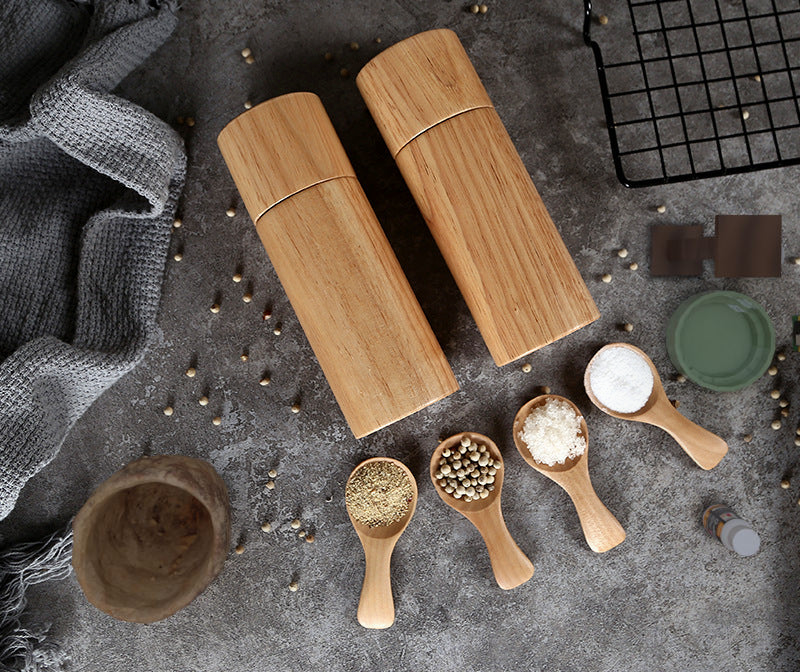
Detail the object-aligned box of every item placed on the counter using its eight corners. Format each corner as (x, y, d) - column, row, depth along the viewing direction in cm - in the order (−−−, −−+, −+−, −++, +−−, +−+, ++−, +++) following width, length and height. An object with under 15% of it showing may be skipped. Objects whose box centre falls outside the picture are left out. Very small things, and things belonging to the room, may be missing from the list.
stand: (699, 225, 116) (782, 214, 91) (699, 275, 116) (781, 277, 91) (650, 225, 116) (719, 214, 91) (650, 275, 116) (718, 277, 91)
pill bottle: (697, 509, 117) (724, 532, 107) (726, 499, 117) (757, 520, 107) (707, 538, 117) (735, 564, 107) (736, 528, 117) (768, 552, 107)
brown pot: (261, 547, 117) (223, 624, 92) (139, 554, 117) (68, 632, 92) (254, 425, 117) (214, 468, 92) (132, 431, 117) (59, 476, 92)
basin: (761, 290, 116) (776, 291, 112) (760, 386, 117) (775, 391, 112) (664, 290, 116) (675, 290, 112) (664, 386, 117) (674, 391, 112)
